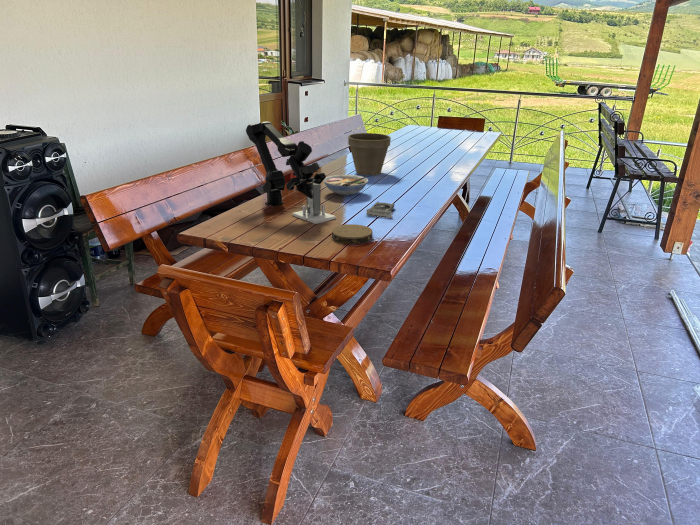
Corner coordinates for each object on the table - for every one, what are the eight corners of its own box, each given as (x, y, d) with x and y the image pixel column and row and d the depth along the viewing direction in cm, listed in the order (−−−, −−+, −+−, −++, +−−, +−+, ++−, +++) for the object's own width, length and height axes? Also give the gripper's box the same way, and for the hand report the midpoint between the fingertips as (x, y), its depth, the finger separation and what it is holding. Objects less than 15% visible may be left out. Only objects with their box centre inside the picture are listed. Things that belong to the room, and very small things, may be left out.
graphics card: (392, 212, 227) (365, 209, 230) (391, 220, 228) (365, 217, 231) (401, 202, 242) (376, 199, 245) (400, 210, 243) (375, 207, 246)
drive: (306, 213, 229) (306, 184, 224) (313, 211, 231) (312, 182, 226) (314, 215, 225) (313, 186, 220) (320, 214, 228) (320, 184, 223)
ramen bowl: (339, 185, 281) (339, 170, 278) (377, 191, 271) (377, 176, 267) (313, 196, 261) (312, 180, 258) (352, 203, 251) (352, 186, 248)
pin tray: (292, 215, 230) (292, 204, 228) (311, 210, 238) (311, 199, 236) (316, 223, 220) (316, 212, 218) (335, 218, 227) (335, 207, 225)
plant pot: (387, 178, 298) (388, 140, 290) (344, 176, 302) (344, 138, 293) (391, 169, 321) (392, 133, 313) (351, 167, 324) (351, 132, 316)
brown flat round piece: (359, 229, 215) (360, 222, 214) (380, 241, 202) (380, 233, 201) (325, 234, 208) (325, 227, 207) (343, 247, 195) (343, 239, 194)
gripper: (289, 159, 215) (307, 190, 212) (323, 154, 228) (340, 183, 225) (278, 174, 224) (295, 205, 221) (311, 168, 236) (328, 197, 233)
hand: (315, 197), depth 224 cm, fingers closed on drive, 4 cm apart
